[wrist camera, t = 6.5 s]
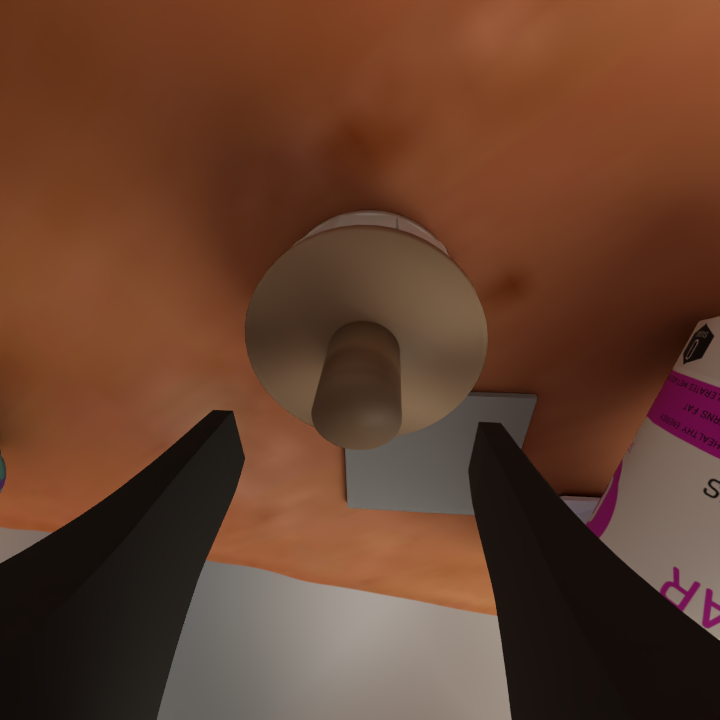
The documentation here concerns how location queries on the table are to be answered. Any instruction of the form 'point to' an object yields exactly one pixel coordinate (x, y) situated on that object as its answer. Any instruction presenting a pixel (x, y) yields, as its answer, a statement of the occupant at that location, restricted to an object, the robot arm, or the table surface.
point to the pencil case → (2, 472)
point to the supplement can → (674, 487)
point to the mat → (433, 458)
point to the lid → (366, 334)
